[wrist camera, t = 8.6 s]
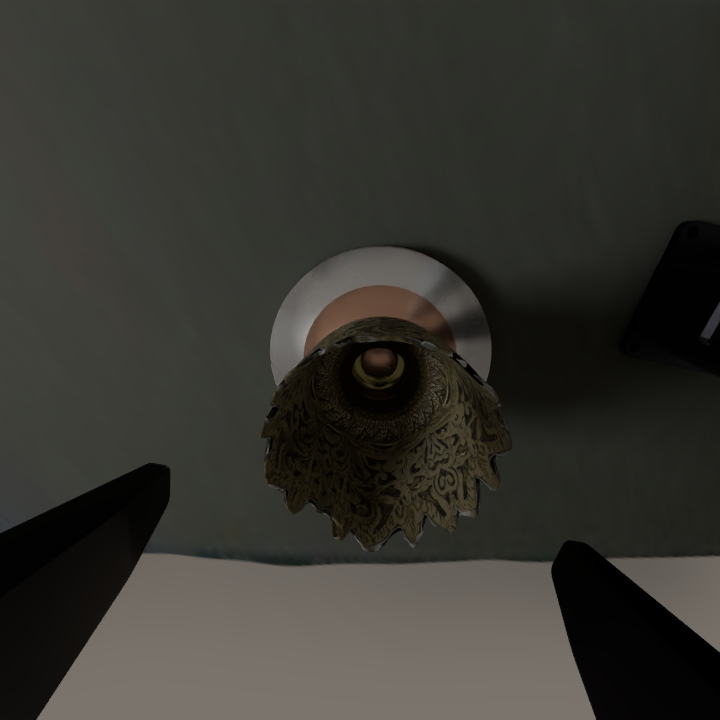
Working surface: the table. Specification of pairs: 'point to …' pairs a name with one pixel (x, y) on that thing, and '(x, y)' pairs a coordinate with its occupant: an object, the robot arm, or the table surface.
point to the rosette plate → (380, 307)
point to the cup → (384, 434)
